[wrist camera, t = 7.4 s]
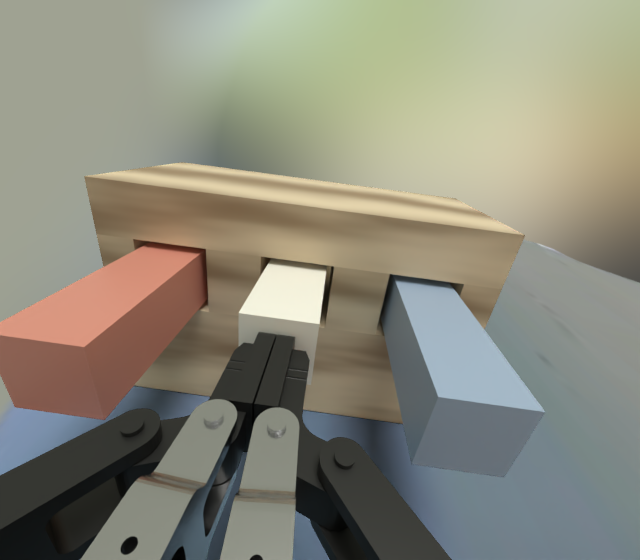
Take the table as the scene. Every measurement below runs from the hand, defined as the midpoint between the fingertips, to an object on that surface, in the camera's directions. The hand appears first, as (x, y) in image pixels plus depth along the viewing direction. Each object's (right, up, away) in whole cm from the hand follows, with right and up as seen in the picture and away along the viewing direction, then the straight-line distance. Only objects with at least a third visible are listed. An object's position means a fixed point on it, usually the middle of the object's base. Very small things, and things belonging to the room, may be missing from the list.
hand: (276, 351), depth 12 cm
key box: (0, -4, +13) cm, 14 cm away
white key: (0, +1, +6) cm, 6 cm away
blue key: (+7, -1, +3) cm, 8 cm away
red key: (-7, +1, +3) cm, 8 cm away
